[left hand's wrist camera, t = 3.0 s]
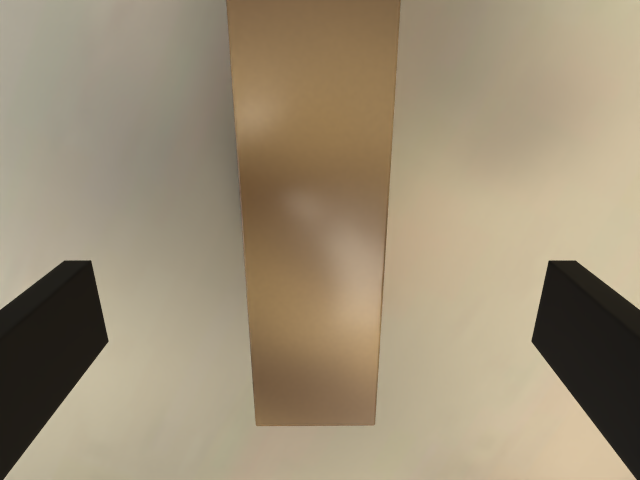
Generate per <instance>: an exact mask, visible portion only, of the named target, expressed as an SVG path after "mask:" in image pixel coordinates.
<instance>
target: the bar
mask: <svg viewBox="0 0 640 480" xmlns="http://www.w3.org/2000/svg"><path fill="white" fill-rule="evenodd" d="M400 2H401V0H226V4H227V19H228V33H229V47H230V62H231V76H232V90H233V105H234V119H235V134H236V148H237V162H238V177H239V191H240V206H241V220H242V234H243V249H244V263H245V277H246V292H247V306H248V321H249V335H250V349H251V364H252V378H253V392H254V407H255V421H256V426H346V425H375V415H376V399H377V382H378V366H379V349H380V333H381V316H382V300H383V283H384V267H385V250H386V233H387V217H388V200H389V184H390V167H391V151H392V134H393V118H394V101H395V85H396V68H397V52H398V35H399V19H400Z"/></svg>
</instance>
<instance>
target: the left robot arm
mask: <svg viewBox="0 0 640 480" xmlns="http://www.w3.org/2000/svg"><path fill="white" fill-rule="evenodd" d="M108 342H109V341H108V337H107V332H106V327H105V323H104V318H103V313H102V309H101V304H100V299H99V295H98V290H97V285H96V281H95V276H94V271H93V267H92V262H91V261H63V262H62V263H61V264H59V265H58V266H57V267H56V268H54V269H53V270H52V271H50V272H49V273H48V274H46V275H45V276H44V277H43V278H41V279H40V280H39V281H37V282H36V283H35V284H33V285H32V286H31V287H30V288H28V289H27V290H26V291H24V292H23V293H22V294H20V295H19V296H18V297H17V298H15V299H14V300H13V301H11V302H10V303H9V304H7V305H6V306H5V307H4V308H2V309H1V310H0V480H3V479H4V478H5V477H6V475H7V474H8V473H9V471H10V470H11V469H12V467H13V466H14V465H15V464H16V462H17V461H18V460H19V458H20V457H21V456H22V454H23V453H24V452H25V450H26V449H27V448H28V446H29V445H30V444H31V443H32V441H33V440H34V439H35V437H36V436H37V435H38V433H39V432H40V431H41V429H42V428H43V427H44V425H45V424H46V423H47V422H48V420H49V419H50V418H51V416H52V415H53V414H54V412H55V411H56V410H57V408H58V407H59V406H60V404H61V403H62V402H63V401H64V399H65V398H66V397H67V395H68V394H69V393H70V391H71V390H72V389H73V387H74V386H75V385H76V383H77V382H78V381H79V380H80V378H81V377H82V376H83V374H84V373H85V372H86V370H87V369H88V368H89V366H90V365H91V364H92V363H93V361H94V360H95V359H96V357H97V356H98V355H99V353H100V352H101V351H102V349H103V348H104V347H105V345H106V344H107V343H108ZM531 342H532V343H533V344H534V345H535V347H536V348H537V349H538V351H539V352H540V353H541V355H542V356H543V357H544V359H545V360H546V361H547V363H548V364H549V365H550V366H551V368H552V369H553V370H554V372H555V373H556V374H557V376H558V377H559V378H560V380H561V381H562V382H563V383H564V385H565V386H566V387H567V389H568V390H569V391H570V393H571V394H572V395H573V397H574V398H575V399H576V401H577V402H578V403H579V404H580V406H581V407H582V408H583V410H584V411H585V412H586V414H587V415H588V416H589V418H590V419H591V420H592V422H593V423H594V424H595V425H596V427H597V428H598V429H599V431H600V432H601V433H602V435H603V436H604V437H605V439H606V440H607V441H608V443H609V444H610V445H611V446H612V448H613V449H614V450H615V452H616V453H617V454H618V456H619V457H620V458H621V460H622V461H623V462H624V464H625V465H626V466H627V467H628V469H629V470H630V471H631V473H632V474H633V475H634V477H635V478H636V479H637V480H640V310H639V309H638V308H636V307H635V306H634V305H633V304H631V303H630V302H629V301H627V300H626V299H625V298H623V297H622V296H621V295H620V294H618V293H617V292H616V291H614V290H613V289H612V288H610V287H609V286H608V285H607V284H605V283H604V282H603V281H601V280H600V279H599V278H597V277H596V276H595V275H594V274H592V273H591V272H590V271H588V270H587V269H586V268H584V267H583V266H582V265H581V264H579V263H578V262H577V261H549V262H548V267H547V271H546V276H545V281H544V285H543V290H542V295H541V299H540V304H539V309H538V313H537V318H536V323H535V327H534V332H533V337H532V341H531Z"/></svg>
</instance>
